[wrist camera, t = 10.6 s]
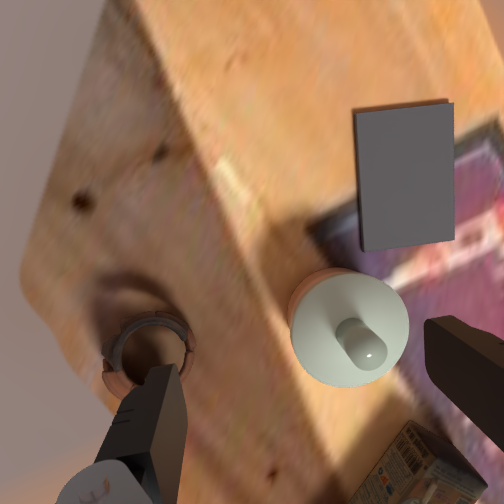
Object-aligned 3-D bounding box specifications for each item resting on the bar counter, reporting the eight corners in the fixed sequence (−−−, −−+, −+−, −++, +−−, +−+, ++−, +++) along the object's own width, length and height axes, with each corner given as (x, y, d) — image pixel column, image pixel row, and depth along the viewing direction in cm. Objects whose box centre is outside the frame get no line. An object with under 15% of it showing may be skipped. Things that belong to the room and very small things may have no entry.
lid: (284, 280, 31) (295, 298, 26) (400, 264, 32) (433, 278, 27) (296, 389, 34) (309, 424, 28) (404, 371, 34) (436, 403, 29)
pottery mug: (86, 337, 37) (81, 335, 29) (167, 300, 41) (182, 290, 34) (132, 442, 36) (139, 467, 29) (210, 393, 40) (234, 404, 33)
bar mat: (354, 114, 34) (356, 113, 34) (449, 103, 35) (453, 102, 34) (362, 251, 37) (364, 252, 36) (450, 239, 38) (454, 240, 37)
